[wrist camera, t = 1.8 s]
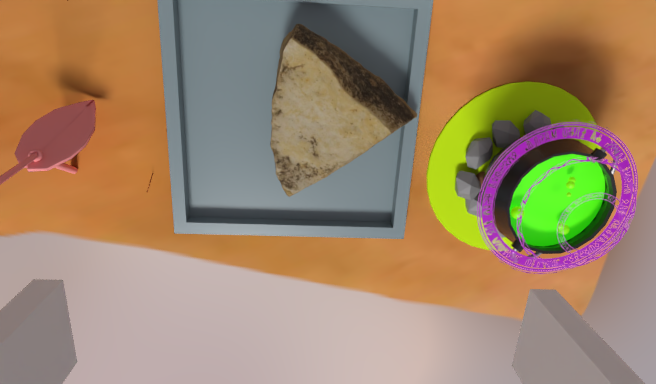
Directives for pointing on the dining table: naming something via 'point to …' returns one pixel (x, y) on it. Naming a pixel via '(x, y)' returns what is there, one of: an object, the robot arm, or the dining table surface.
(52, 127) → the flower sculpture
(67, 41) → the dining table surface
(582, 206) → the toy cauldron
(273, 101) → the rock
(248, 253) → the dining table surface
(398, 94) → the tray
